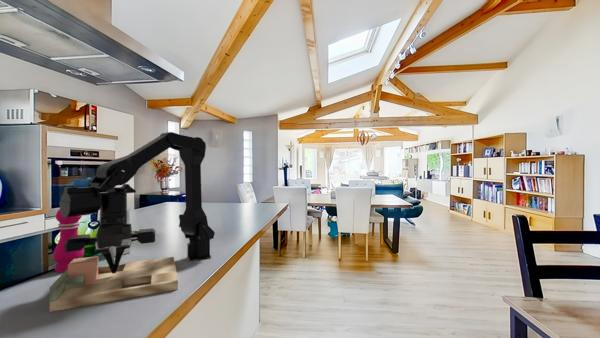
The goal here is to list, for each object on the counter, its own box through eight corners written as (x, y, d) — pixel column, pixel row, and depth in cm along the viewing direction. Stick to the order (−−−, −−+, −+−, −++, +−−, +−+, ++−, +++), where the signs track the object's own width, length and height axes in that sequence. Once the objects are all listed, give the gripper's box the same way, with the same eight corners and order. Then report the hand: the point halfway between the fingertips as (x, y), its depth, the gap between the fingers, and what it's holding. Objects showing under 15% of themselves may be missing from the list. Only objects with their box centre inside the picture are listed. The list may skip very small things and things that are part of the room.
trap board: (173, 263, 87) (173, 247, 87) (177, 289, 68) (177, 268, 68) (77, 276, 77) (77, 258, 77) (49, 311, 57) (49, 287, 57)
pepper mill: (58, 274, 78) (58, 203, 78) (48, 270, 82) (49, 201, 82) (88, 267, 84) (88, 200, 84) (78, 263, 88) (78, 199, 88)
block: (98, 275, 72) (98, 256, 72) (94, 282, 67) (94, 261, 67) (73, 279, 69) (73, 258, 69) (67, 286, 65) (67, 264, 65)
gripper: (56, 219, 60) (56, 292, 60) (154, 213, 68) (154, 277, 68) (71, 213, 70) (71, 275, 70) (155, 207, 78) (155, 263, 78)
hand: (114, 272), depth 71 cm, fingers closed
